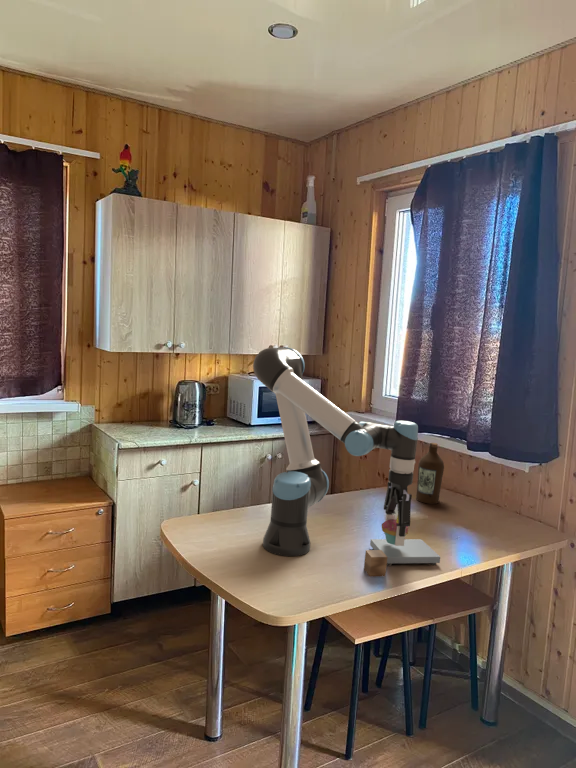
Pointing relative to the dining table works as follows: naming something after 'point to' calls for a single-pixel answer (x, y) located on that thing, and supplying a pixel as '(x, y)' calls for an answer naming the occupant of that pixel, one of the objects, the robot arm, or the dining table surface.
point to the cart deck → (406, 551)
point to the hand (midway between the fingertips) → (393, 539)
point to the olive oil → (430, 476)
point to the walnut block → (375, 563)
